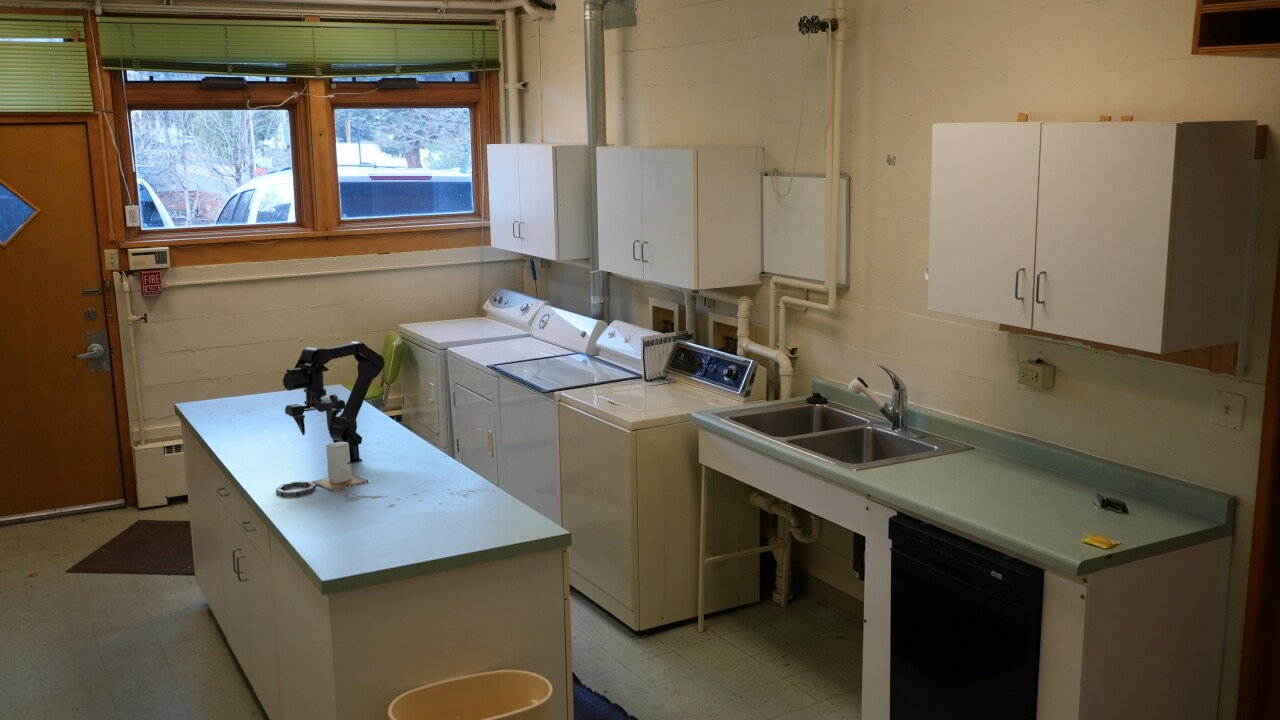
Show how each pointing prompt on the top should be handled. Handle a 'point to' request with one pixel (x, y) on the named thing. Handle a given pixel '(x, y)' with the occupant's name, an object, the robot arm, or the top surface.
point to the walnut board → (334, 486)
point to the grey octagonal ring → (309, 490)
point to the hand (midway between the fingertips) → (316, 432)
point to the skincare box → (338, 462)
